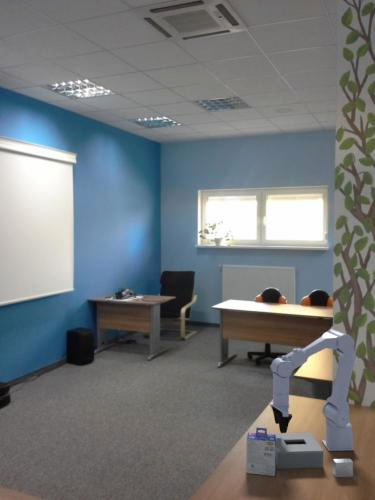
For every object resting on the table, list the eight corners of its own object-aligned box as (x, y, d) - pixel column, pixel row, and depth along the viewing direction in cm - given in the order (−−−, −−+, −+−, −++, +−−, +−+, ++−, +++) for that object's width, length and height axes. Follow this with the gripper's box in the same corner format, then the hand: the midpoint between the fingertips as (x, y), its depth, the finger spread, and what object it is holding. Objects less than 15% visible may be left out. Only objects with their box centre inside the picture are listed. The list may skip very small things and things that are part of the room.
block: (350, 472, 160) (350, 458, 159) (352, 476, 157) (353, 462, 157) (332, 473, 159) (332, 459, 159) (335, 477, 157) (335, 462, 157)
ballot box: (310, 448, 177) (310, 432, 176) (323, 467, 163) (323, 450, 163) (268, 449, 176) (268, 433, 176) (277, 468, 162) (277, 452, 162)
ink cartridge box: (276, 468, 162) (276, 427, 162) (275, 476, 157) (276, 434, 156) (247, 465, 164) (247, 425, 164) (246, 473, 159) (246, 432, 158)
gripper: (265, 385, 178) (265, 419, 179) (274, 399, 164) (274, 437, 165) (284, 384, 178) (284, 419, 179) (294, 399, 164) (294, 436, 165)
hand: (280, 427), depth 172 cm, fingers open, 7 cm apart
